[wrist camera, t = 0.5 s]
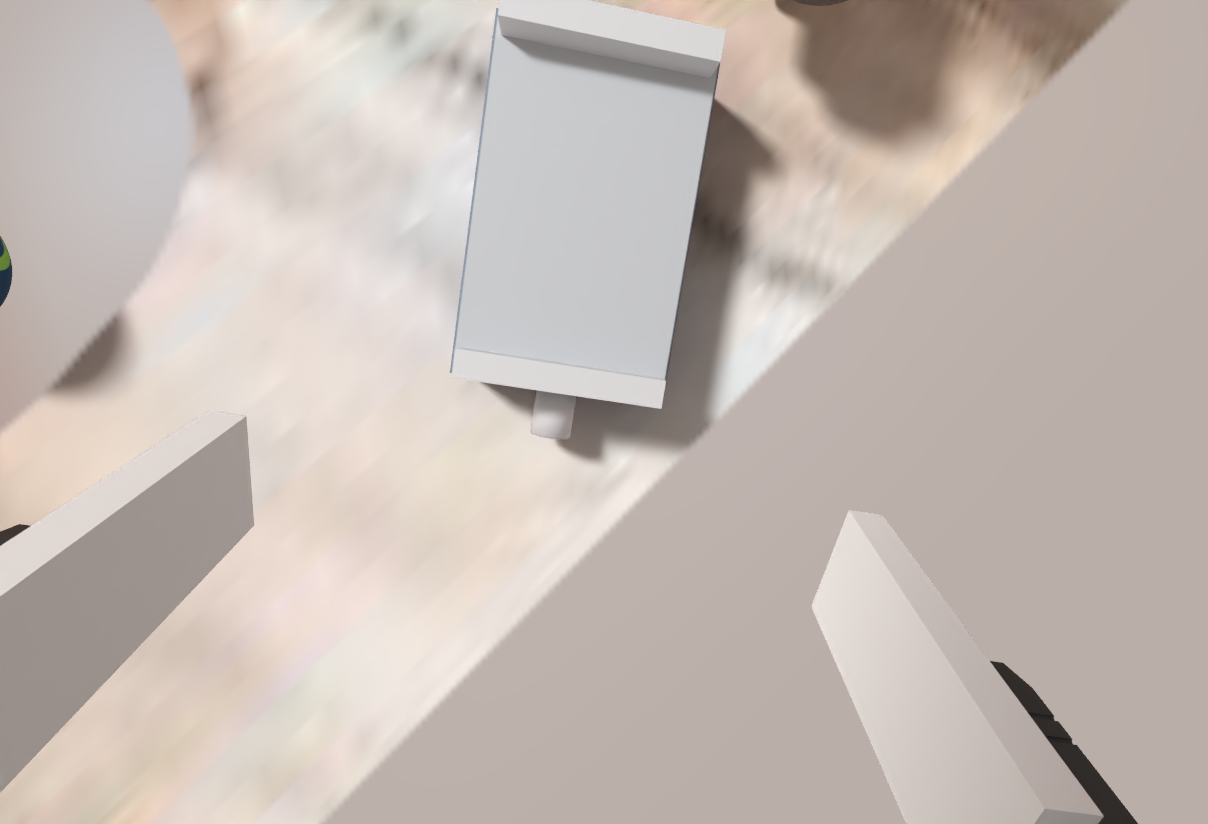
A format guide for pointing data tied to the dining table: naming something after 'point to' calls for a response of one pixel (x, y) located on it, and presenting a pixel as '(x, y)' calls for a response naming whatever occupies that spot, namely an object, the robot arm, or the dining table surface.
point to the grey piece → (583, 203)
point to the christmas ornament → (4, 271)
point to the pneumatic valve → (819, 2)
